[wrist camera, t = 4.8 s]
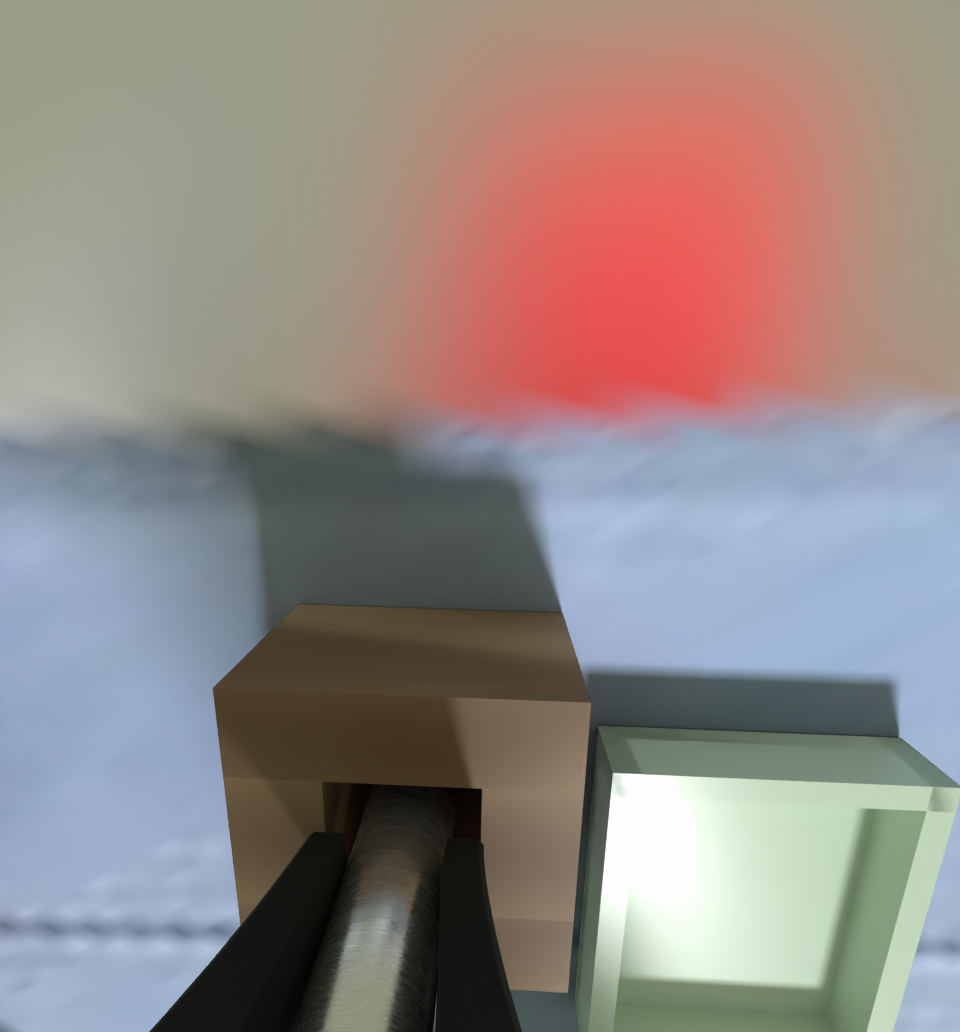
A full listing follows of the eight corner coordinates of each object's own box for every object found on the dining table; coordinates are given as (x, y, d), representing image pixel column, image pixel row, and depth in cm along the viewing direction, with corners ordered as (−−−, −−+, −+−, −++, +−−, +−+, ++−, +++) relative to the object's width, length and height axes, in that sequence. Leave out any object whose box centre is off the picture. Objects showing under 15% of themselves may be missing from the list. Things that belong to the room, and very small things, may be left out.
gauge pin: (457, 799, 12) (390, 1468, 5) (381, 792, 12) (185, 1444, 5) (462, 732, 12) (396, 1349, 4) (383, 726, 12) (169, 1323, 4)
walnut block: (548, 833, 14) (568, 992, 10) (313, 823, 15) (246, 974, 11) (562, 612, 13) (591, 702, 9) (298, 604, 13) (212, 687, 9)
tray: (832, 1015, 15) (875, 1092, 14) (574, 1000, 16) (584, 1074, 14) (901, 737, 13) (962, 787, 11) (597, 725, 13) (613, 773, 12)
